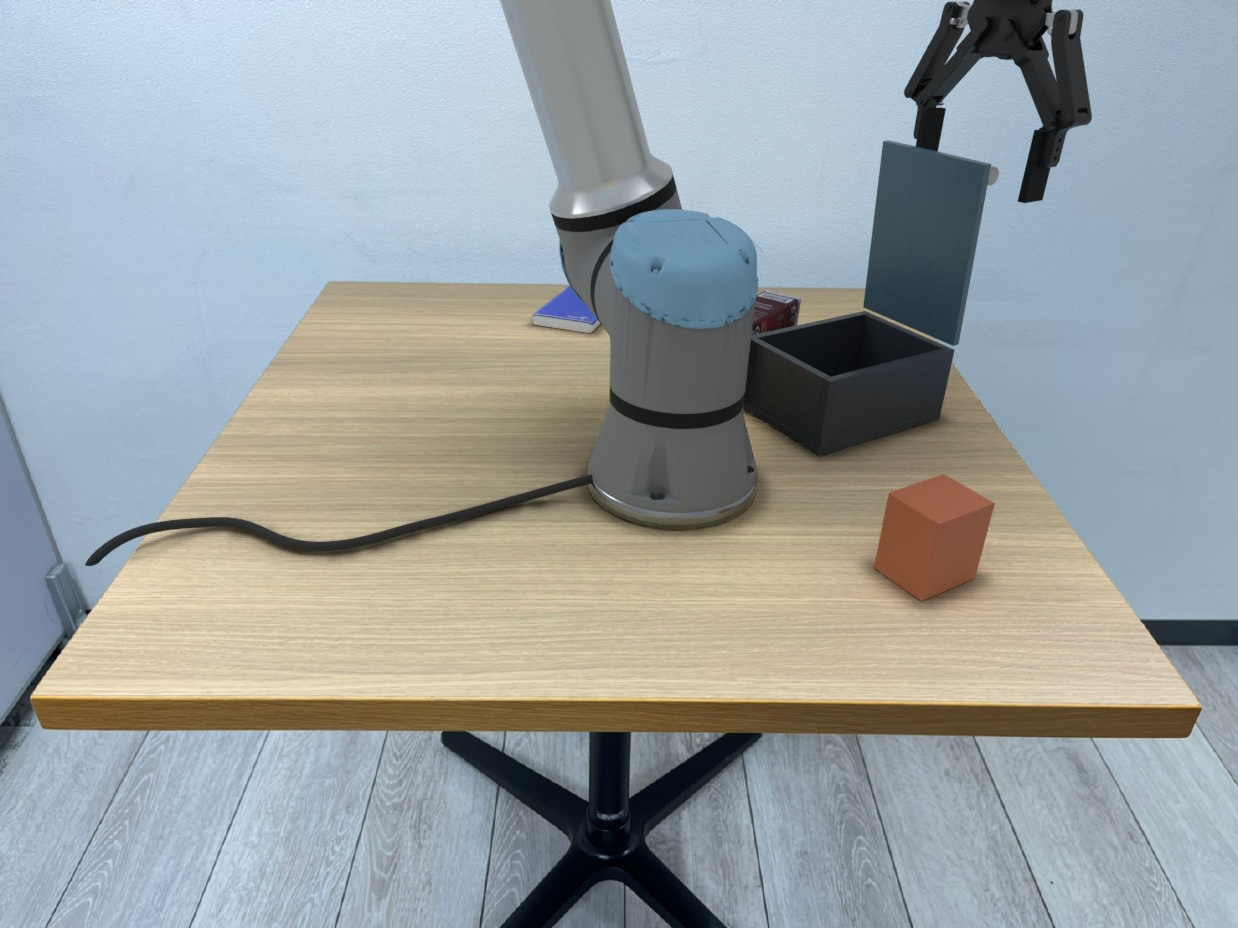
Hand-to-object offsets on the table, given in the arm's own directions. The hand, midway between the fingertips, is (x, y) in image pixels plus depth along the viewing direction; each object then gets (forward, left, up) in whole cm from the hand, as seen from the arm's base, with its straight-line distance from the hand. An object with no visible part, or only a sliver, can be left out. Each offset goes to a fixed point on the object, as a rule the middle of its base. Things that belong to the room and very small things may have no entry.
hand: (973, 186), depth 92 cm
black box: (-14, 0, -22) cm, 26 cm away
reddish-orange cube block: (-28, -25, -22) cm, 44 cm away
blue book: (-24, +39, -22) cm, 51 cm away
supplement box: (-11, +14, -18) cm, 25 cm away
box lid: (-7, 0, -5) cm, 8 cm away
